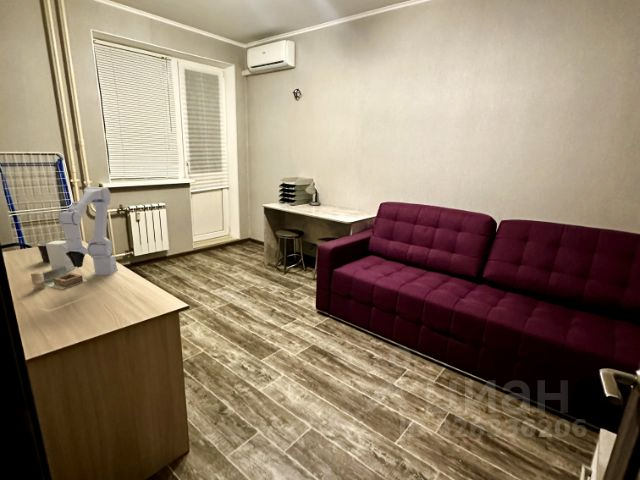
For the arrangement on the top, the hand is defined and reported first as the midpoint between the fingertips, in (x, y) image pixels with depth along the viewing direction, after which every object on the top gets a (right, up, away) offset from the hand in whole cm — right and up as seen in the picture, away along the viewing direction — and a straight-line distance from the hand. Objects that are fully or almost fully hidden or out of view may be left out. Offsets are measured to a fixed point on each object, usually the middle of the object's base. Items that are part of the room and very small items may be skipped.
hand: (78, 266), depth 154 cm
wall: (-18, -7, +9) cm, 21 cm away
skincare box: (-23, -4, +22) cm, 32 cm away
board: (-12, -8, +7) cm, 16 cm away
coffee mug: (-40, 0, +34) cm, 53 cm away
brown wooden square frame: (-9, -8, +6) cm, 13 cm away
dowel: (-17, -10, -1) cm, 20 cm away
